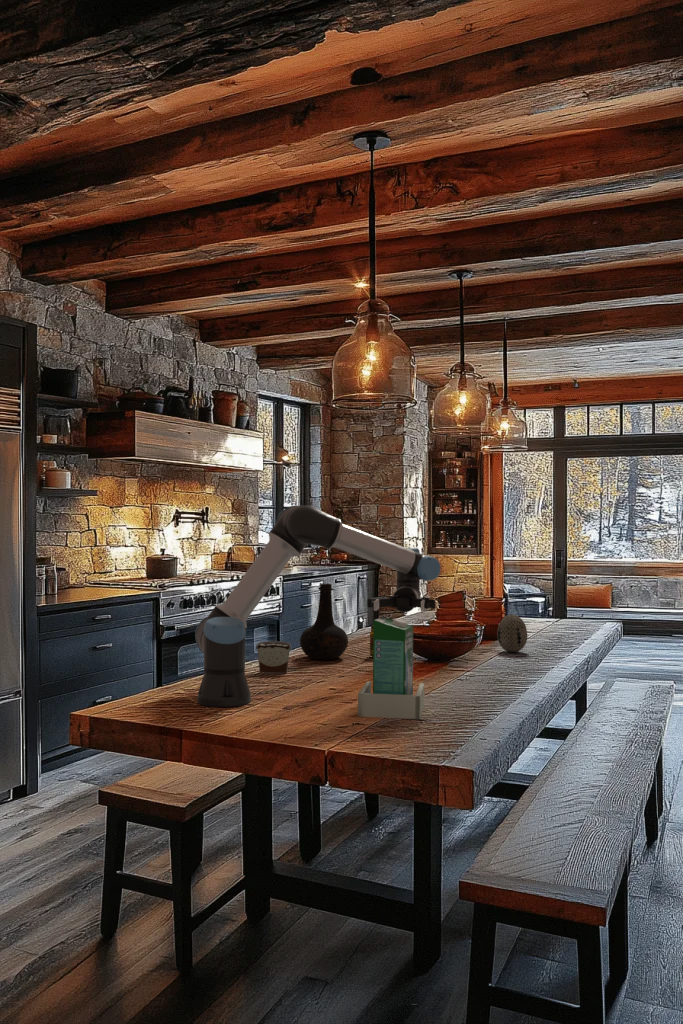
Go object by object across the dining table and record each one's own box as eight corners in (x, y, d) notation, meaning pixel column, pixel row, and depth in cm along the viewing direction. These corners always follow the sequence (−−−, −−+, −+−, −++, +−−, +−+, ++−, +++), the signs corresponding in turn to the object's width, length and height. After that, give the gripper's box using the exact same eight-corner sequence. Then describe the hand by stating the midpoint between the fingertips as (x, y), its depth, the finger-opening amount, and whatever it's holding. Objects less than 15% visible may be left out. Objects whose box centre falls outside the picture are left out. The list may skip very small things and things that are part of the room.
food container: (294, 670, 286) (294, 641, 286) (291, 673, 280) (291, 644, 280) (258, 669, 287) (259, 640, 287) (255, 672, 281) (255, 643, 281)
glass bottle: (290, 659, 308) (291, 583, 309) (318, 652, 323) (318, 581, 323) (330, 664, 298) (330, 586, 299) (356, 657, 313) (357, 583, 314)
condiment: (366, 657, 313) (366, 626, 313) (373, 654, 321) (373, 623, 321) (384, 659, 310) (384, 627, 310) (391, 655, 318) (391, 624, 318)
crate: (419, 719, 217) (419, 696, 217) (357, 716, 220) (358, 693, 220) (424, 704, 234) (424, 683, 234) (366, 702, 237) (367, 681, 237)
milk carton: (404, 714, 223) (405, 621, 223) (372, 711, 226) (373, 619, 226) (412, 706, 232) (413, 617, 232) (381, 704, 234) (382, 616, 235)
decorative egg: (532, 654, 323) (532, 615, 323) (505, 655, 320) (505, 616, 320) (518, 649, 334) (518, 612, 335) (492, 650, 331) (492, 613, 331)
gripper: (445, 611, 257) (442, 620, 237) (366, 610, 262) (355, 618, 241) (445, 587, 257) (442, 594, 237) (365, 586, 262) (355, 592, 241)
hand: (398, 606), depth 239 cm, fingers open, 13 cm apart
